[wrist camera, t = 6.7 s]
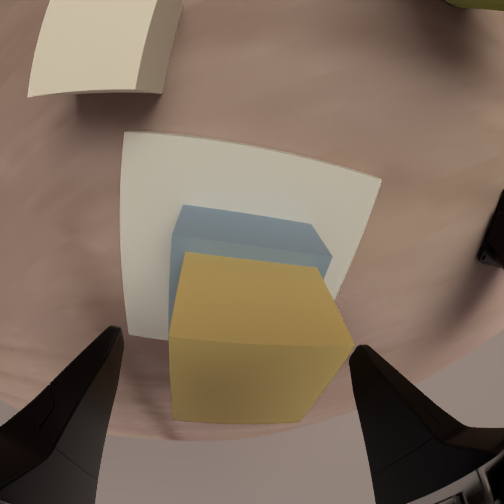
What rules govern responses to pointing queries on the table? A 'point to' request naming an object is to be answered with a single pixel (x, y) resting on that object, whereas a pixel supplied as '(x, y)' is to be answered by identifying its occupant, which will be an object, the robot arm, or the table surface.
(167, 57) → the brick cream
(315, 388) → the brick ochre
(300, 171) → the build plate
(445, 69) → the table surface
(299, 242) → the base brick
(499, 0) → the plant pot
